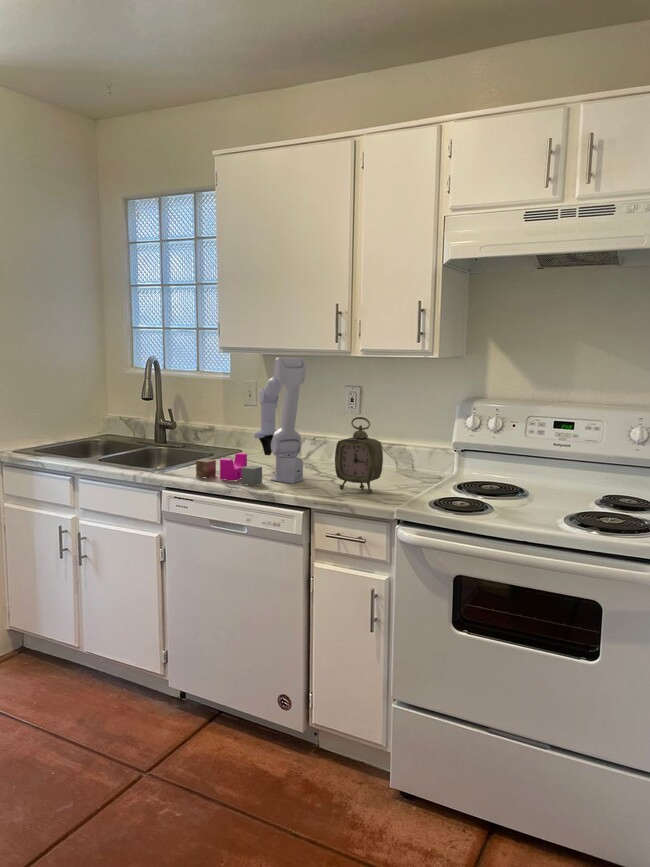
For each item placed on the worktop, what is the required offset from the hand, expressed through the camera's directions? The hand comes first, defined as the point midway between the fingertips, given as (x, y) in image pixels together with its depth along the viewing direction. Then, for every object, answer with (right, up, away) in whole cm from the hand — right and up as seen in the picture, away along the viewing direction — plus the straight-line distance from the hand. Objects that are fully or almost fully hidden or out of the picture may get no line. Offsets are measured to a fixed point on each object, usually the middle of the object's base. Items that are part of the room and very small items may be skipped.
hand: (267, 454), depth 256 cm
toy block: (-10, -8, -12) cm, 18 cm away
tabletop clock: (+34, -11, -30) cm, 46 cm away
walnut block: (-21, -8, -13) cm, 26 cm away
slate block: (-3, -9, -24) cm, 26 cm away
